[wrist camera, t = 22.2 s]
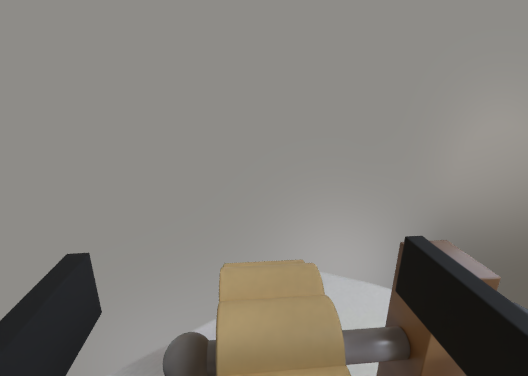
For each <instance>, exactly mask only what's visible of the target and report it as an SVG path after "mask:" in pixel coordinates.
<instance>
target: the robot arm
mask: <svg viewBox="0 0 528 376" xmlns="http://www.w3.org/2000/svg"><path fill="white" fill-rule="evenodd" d="M395 291H396V293H397V294H398V295H399V296H400V297H401V298H402V300H403V301H404V302H405V303H406V304H407V306H408V307H409V308H410V309H411V310H412V312H413V313H414V314H415V315H416V316H417V317H418V319H419V320H420V321H421V322H422V323H423V325H424V326H425V327H426V328H427V329H428V330H429V332H430V333H431V334H432V335H433V336H434V338H435V339H436V340H437V341H438V342H439V344H440V345H441V346H442V347H443V348H444V349H445V351H446V352H447V353H448V354H449V355H450V357H451V358H452V359H453V360H454V361H455V363H456V364H457V365H458V366H459V367H460V368H461V370H462V371H463V372H464V373H465V374H466V376H528V309H526V308H524V307H522V306H520V305H518V304H516V303H512V302H511V301H510V300H508V299H507V298H505V297H504V296H503V295H501V294H500V293H499V292H497V291H496V290H495V289H493V288H492V287H491V286H489V285H488V284H487V283H485V282H484V281H483V280H481V279H480V278H478V277H477V276H476V275H474V274H473V273H472V272H470V271H469V270H468V269H466V268H465V267H464V266H462V265H461V264H460V263H458V262H457V261H455V260H454V259H453V258H451V257H450V256H449V255H447V254H446V253H445V252H443V251H442V250H441V249H439V248H438V247H436V246H435V245H434V244H432V243H431V242H430V241H428V240H427V239H425V238H424V237H423V236H409V237H405V241H404V246H403V251H402V257H401V262H400V267H399V272H398V278H397V283H396V288H395ZM101 313H102V311H101V307H100V302H99V297H98V293H97V288H96V283H95V278H94V274H93V269H92V264H91V260H90V255H89V253H78V254H67V255H66V256H65V257H64V258H63V259H62V260H61V261H60V262H59V263H58V264H57V265H56V266H55V267H54V268H53V269H52V270H51V271H50V272H49V273H48V274H47V275H46V276H45V277H44V278H43V279H42V280H41V281H40V282H39V283H38V284H37V285H36V286H35V287H34V288H33V289H32V290H31V291H30V292H29V293H28V294H27V295H26V296H25V297H24V298H23V299H22V300H21V301H20V302H19V303H18V304H17V305H16V306H15V307H14V308H13V309H12V310H11V311H10V312H9V313H8V314H7V315H6V316H5V317H4V318H3V319H2V320H1V321H0V376H66V374H67V372H68V370H69V369H70V367H71V365H72V364H73V362H74V360H75V358H76V357H77V355H78V353H79V351H80V350H81V348H82V346H83V344H84V343H85V341H86V339H87V337H88V336H89V334H90V332H91V330H92V329H93V327H94V325H95V323H96V322H97V320H98V318H99V317H100V315H101Z"/></svg>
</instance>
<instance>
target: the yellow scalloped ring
mask: <svg viewBox="0 0 528 376" xmlns="http://www.w3.org/2000/svg"><path fill="white" fill-rule="evenodd" d="M216 376H351V375H350V372H349V370H348V368H347V366H346V358H345V345H344V338H343V333H342V328H341V324H340V320H339V317H338V314H337V311H336V309H335V306H334V304H333V302H332V301H331V299H330V298H329V297H328V296H326V295H325V293H324V288H323V283H322V279H321V276H320V273H319V270H318V268H317V266H316V265H315V264H313V263H305V262H304V261H303V260H284V261H266V262H265V261H264V262H245V263H225V264H224V265H223V267H222V268H221V270H220V281H219V304H218V309H217V322H216Z"/></svg>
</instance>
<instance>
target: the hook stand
mask: <svg viewBox="0 0 528 376" xmlns="http://www.w3.org/2000/svg"><path fill="white" fill-rule="evenodd" d="M430 242H431V243H432V244H434V245H435V246H436V247H438V248H439V249H441V250H442V251H443V252H445V253H446V254H447V255H449V256H450V257H451V258H453V259H454V260H455V261H457V262H458V263H460V264H461V265H462V266H464V267H465V268H466V269H468V270H469V271H470V272H472V273H473V274H474V275H476V276H477V277H478V278H480V279H481V280H483V281H484V282H485V283H487V284H488V285H489V286H491V287H492V288H493V289H495V290H496V291H497V288H498V285H499V282H500V279H501V278H500V277H499V276H498V275H497V274H495V273H494V272H492V271H491V270H489V269H488V268H486V267H485V266H483V265H482V264H481V263H479V262H478V261H476V260H475V259H473V258H472V257H471V256H469V255H468V254H466V253H465V252H463V251H462V250H460V249H459V248H458V247H456V246H455V245H453V244H452V243H450V242H449V241H447V240H438V241H430ZM403 246H404V242H401V243H400V248H399V253H398V259H397V264H396V270H395V276H394V281H393V287H392V292H391V298H390V304H389V309H388V315H387V320H386V326H385V327H381V328H368V329H355V330H342V333H343V338H344V345H345V358H346V365H350V364H361V363H372V362H379V365H378V371H377V376H466V374H465V373H464V372H463V371H462V370H461V368H460V367H459V366H458V365H457V364H456V363H455V361H454V360H453V359H452V358H451V357H450V355H449V354H448V353H447V352H446V351H445V349H444V348H443V347H442V346H441V345H440V344H439V342H438V341H437V340H436V339H435V338H434V336H433V335H432V334H431V333H430V332H429V330H428V329H427V328H426V327H425V326H424V325H423V323H422V322H421V321H420V320H419V319H418V317H417V316H416V315H415V314H414V313H413V312H412V310H411V309H410V308H409V307H408V306H407V304H406V303H405V302H404V301H403V300H402V298H401V297H400V296H399V295H398V294H397V293H396V291H395V288H396V283H397V278H398V272H399V267H400V262H401V257H402V251H403ZM163 371H164V374H165V376H216V340H210V341H209V340H208V339H207V338H206V337H205V336H203V335H202V334H199V333H196V332H188V333H184V334H182V335H180V336H178V337H177V338H175V339H174V340H173V341H172V342H171V344H170V345H169V346H168V348H167V350H166V352H165V355H164V359H163Z"/></svg>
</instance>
